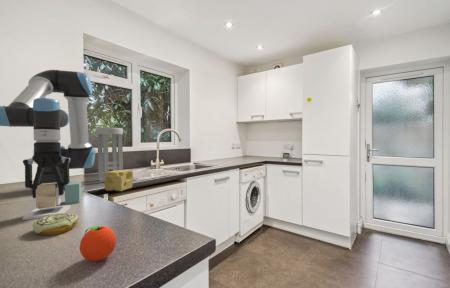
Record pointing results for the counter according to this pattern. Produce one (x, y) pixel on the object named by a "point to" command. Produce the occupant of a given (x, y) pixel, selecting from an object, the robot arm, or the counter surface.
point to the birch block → (46, 195)
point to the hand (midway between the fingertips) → (48, 205)
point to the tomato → (97, 243)
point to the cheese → (118, 180)
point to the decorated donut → (55, 224)
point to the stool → (104, 162)
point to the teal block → (73, 193)
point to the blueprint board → (46, 212)
